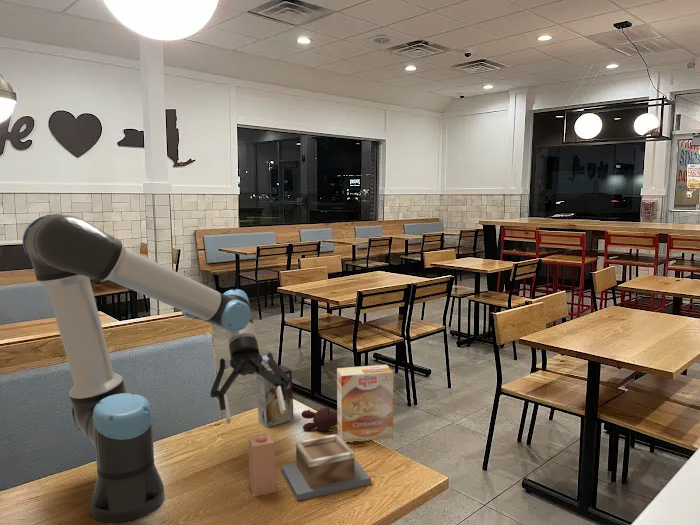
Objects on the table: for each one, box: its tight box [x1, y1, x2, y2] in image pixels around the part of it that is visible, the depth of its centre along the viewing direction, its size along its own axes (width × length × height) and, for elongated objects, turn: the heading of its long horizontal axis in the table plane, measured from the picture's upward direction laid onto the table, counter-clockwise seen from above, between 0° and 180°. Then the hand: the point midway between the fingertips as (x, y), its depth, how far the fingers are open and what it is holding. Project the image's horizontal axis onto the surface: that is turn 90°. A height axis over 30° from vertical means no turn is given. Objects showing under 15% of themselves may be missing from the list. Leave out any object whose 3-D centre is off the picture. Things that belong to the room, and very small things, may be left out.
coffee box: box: [255, 364, 295, 428], centre depth 159 cm, size 9×6×16 cm
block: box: [247, 433, 277, 497], centre depth 122 cm, size 5×5×13 cm
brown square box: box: [295, 433, 355, 488], centre depth 127 cm, size 11×11×6 cm
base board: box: [280, 458, 372, 502], centre depth 127 cm, size 18×14×2 cm
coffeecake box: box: [336, 364, 394, 444], centre depth 148 cm, size 15×7×20 cm, turn 102°
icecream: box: [301, 406, 337, 432], centre depth 153 cm, size 7×7×15 cm
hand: (256, 416), depth 130 cm, fingers open, 13 cm apart
